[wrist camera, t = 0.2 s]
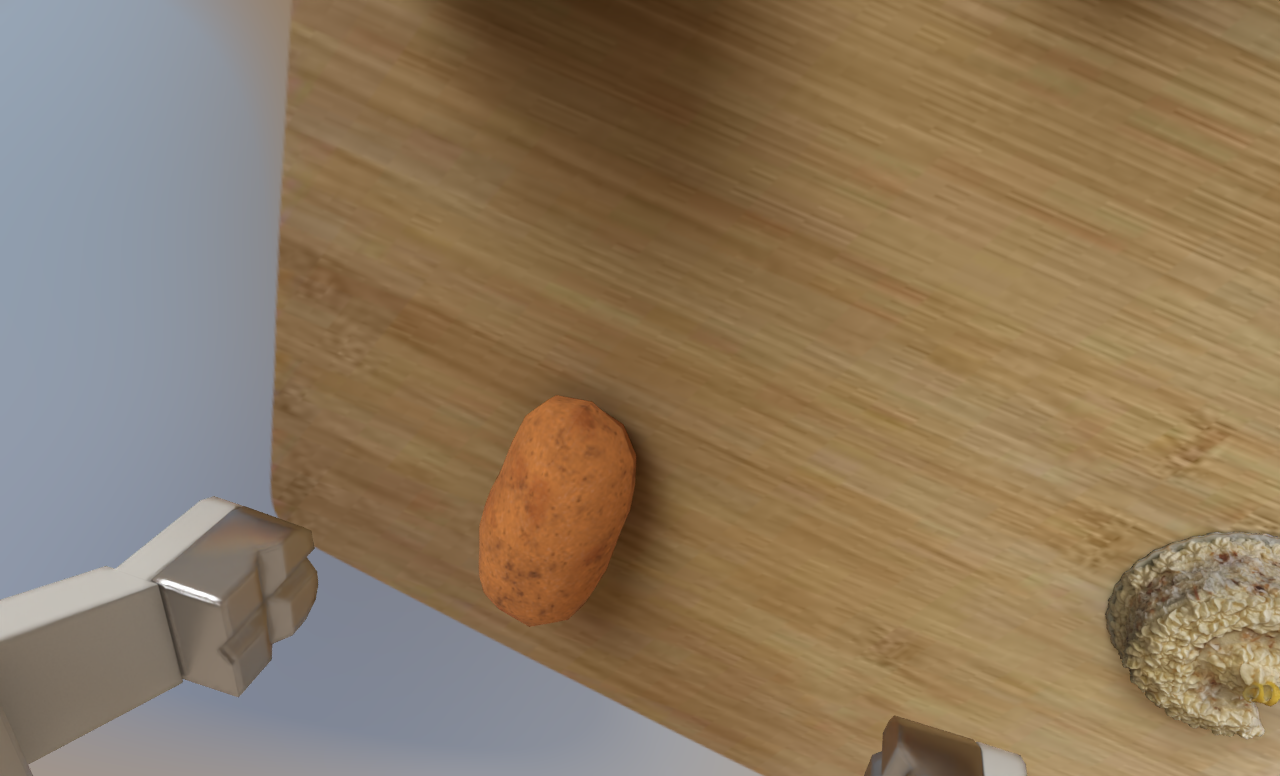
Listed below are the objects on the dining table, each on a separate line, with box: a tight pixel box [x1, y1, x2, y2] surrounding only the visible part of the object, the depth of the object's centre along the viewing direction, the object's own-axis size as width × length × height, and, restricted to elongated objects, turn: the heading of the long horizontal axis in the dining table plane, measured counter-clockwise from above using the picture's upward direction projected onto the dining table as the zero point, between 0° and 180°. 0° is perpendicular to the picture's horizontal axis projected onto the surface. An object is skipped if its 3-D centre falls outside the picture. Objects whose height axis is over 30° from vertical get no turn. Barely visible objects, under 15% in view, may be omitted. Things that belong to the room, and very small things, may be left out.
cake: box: [1106, 532, 1280, 739], centre depth 35 cm, size 10×10×5 cm
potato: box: [479, 395, 636, 627], centre depth 41 cm, size 7×13×7 cm, turn 163°
